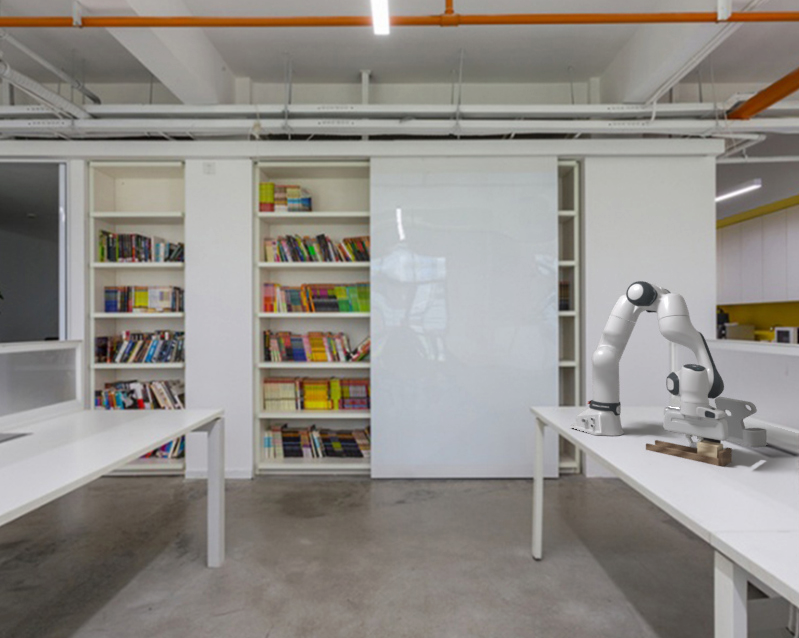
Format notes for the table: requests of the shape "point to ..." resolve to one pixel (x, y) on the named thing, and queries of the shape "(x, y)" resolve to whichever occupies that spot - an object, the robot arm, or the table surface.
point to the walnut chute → (690, 453)
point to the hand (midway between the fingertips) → (694, 447)
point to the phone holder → (741, 422)
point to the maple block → (709, 448)
